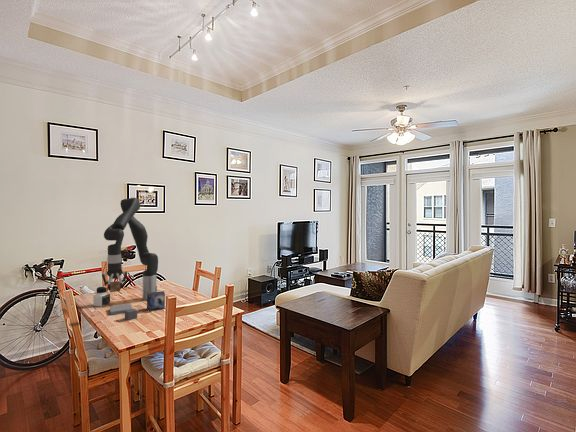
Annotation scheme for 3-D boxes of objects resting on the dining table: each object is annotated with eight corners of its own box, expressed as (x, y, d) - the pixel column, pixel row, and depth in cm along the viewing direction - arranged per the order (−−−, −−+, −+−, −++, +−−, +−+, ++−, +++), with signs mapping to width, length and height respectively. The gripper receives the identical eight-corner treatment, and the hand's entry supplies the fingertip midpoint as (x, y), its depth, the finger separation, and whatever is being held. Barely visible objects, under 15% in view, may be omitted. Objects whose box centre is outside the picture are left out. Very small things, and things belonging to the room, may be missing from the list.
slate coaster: (130, 306, 211) (130, 303, 211) (132, 312, 201) (132, 308, 201) (109, 309, 204) (109, 306, 204) (110, 315, 194) (110, 311, 194)
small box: (147, 311, 203) (147, 295, 202) (146, 308, 209) (146, 292, 208) (164, 309, 208) (165, 293, 207) (163, 306, 213) (163, 290, 213)
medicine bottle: (102, 306, 210) (102, 288, 210) (93, 305, 211) (93, 288, 211) (110, 303, 217) (110, 286, 217) (101, 302, 218) (101, 285, 218)
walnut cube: (119, 289, 195) (119, 281, 195) (120, 291, 191) (119, 282, 190) (110, 290, 192) (109, 282, 192) (110, 292, 188) (110, 283, 188)
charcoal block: (133, 316, 193) (133, 308, 193) (137, 318, 190) (137, 310, 190) (124, 318, 189) (124, 310, 189) (128, 320, 186) (128, 312, 186)
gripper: (127, 259, 198) (127, 286, 199) (100, 261, 190) (101, 289, 191) (128, 261, 191) (128, 289, 192) (101, 264, 184) (101, 292, 184)
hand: (115, 289), depth 191 cm, fingers closed on walnut cube, 5 cm apart
